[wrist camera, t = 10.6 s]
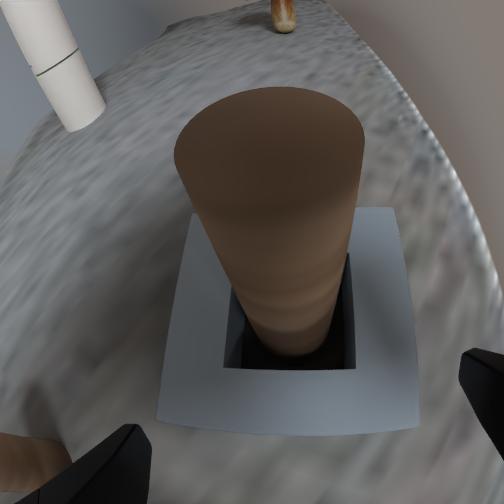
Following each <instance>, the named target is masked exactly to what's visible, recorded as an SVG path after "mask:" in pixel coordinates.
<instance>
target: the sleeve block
mask: <svg viewBox="0 0 504 504" xmlns="http://www.w3.org/2000/svg"><path fill="white" fill-rule="evenodd" d="M340 286H342V299H343V320H344V360H345V370H256V369H240V368H241V357H242V345H243V333H244V321H245V312H244V310H243V308H242V306H241V304H240V302H239V300H238V298H237V296H236V293H235V291H234V289H233V287H232V285H231V283H230V281H229V279H228V277H227V275H226V273H225V271H224V269H223V267H222V265H221V263H220V261H219V259H218V257H217V255H216V252H215V250H214V248H213V246H212V244H211V242H210V240H209V238H208V236H207V234H206V231H205V229H204V227H203V225H202V223H201V221H200V219H199V217H198V214H197V213H192V215H191V219H190V224H189V228H188V232H187V237H186V242H185V246H184V251H183V256H182V261H181V266H180V271H179V276H178V281H177V286H176V291H175V296H174V302H173V307H172V313H171V319H170V325H169V330H168V337H167V343H166V349H165V355H164V362H163V369H162V376H161V383H160V391H159V398H158V406H157V415H156V421H159V422H165V423H170V424H175V425H181V426H187V427H194V428H201V429H208V430H216V431H225V432H235V433H246V434H261V435H282V436H330V435H351V434H365V433H377V432H386V431H395V430H402V429H409V428H416V427H419V377H418V360H417V347H416V336H415V327H414V318H413V310H412V303H411V296H410V289H409V283H408V276H407V271H406V265H405V260H404V254H403V249H402V244H401V240H400V235H399V230H398V226H397V221H396V217H395V213H394V209H393V207H355V212H354V218H353V224H352V229H351V235H350V240H349V245H348V250H347V255H346V260H345V264H344V269H343V274H342V278H341V283H340Z"/></svg>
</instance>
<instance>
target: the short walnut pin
mask: <svg viewBox="0 0 504 504" xmlns="http://www.w3.org/2000/svg"><path fill="white" fill-rule="evenodd" d="M71 464H73V463H72V460H71V458H70V456H69V454H68V452H67V451H66V450H65V448H64V447H63V446H62V445H61V444H59V443H58V442H56V441H52V440H44V439H36V438H29V437H22V436H16V435H11V434H5V433H0V491H2V492H33V491H35V490H36V489H38V488H40V487H41V486H42V485H43V484H45V483H46V482H48V481H49V480H51V479H52V478H53V477H55V476H56V475H58V474H59V473H60V472H62V471H63V470H65V469H66V468H67V467H69V466H70V465H71Z"/></svg>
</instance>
